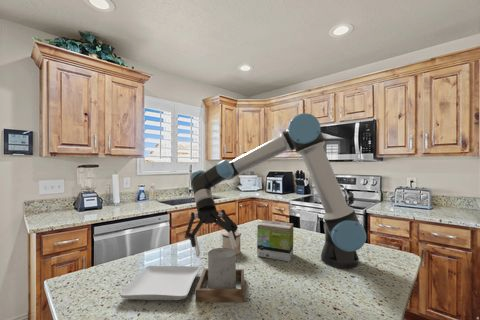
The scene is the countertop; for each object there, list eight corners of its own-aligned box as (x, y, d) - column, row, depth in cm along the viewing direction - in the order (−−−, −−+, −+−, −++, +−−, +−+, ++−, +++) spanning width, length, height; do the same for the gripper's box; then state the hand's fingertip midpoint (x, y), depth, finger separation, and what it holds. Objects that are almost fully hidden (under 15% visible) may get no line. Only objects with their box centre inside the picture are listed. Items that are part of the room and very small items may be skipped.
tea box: (256, 257, 109) (256, 224, 109) (263, 249, 118) (263, 219, 118) (289, 262, 103) (289, 227, 103) (293, 254, 113) (293, 222, 113)
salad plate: (146, 273, 93) (146, 264, 93) (200, 274, 93) (201, 265, 93) (117, 305, 72) (117, 294, 72) (187, 307, 72) (187, 295, 72)
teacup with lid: (243, 254, 111) (243, 229, 112) (223, 256, 109) (223, 231, 109) (237, 246, 123) (237, 223, 123) (219, 247, 121) (219, 224, 121)
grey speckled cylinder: (239, 284, 84) (239, 249, 84) (229, 299, 75) (229, 259, 75) (215, 280, 87) (215, 246, 87) (202, 293, 78) (202, 256, 78)
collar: (244, 278, 88) (244, 269, 89) (244, 302, 73) (244, 290, 74) (203, 278, 89) (203, 268, 89) (195, 301, 74) (195, 290, 74)
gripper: (230, 205, 106) (245, 251, 92) (172, 210, 96) (180, 262, 82) (235, 195, 101) (251, 241, 87) (175, 199, 91) (183, 252, 77)
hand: (217, 251), depth 85 cm, fingers open, 13 cm apart
